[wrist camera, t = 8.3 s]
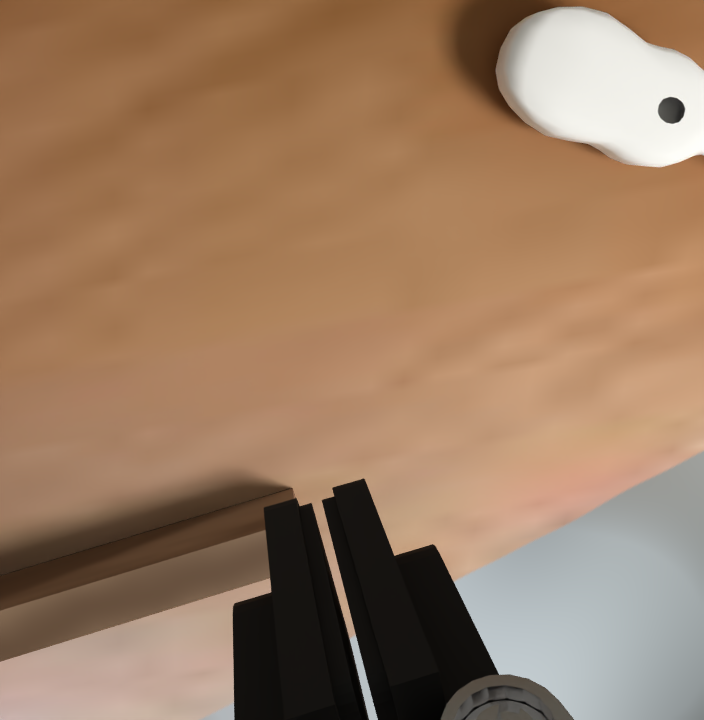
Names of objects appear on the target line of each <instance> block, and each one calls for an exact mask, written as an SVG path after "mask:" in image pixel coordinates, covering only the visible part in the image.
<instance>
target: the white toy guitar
mask: <svg viewBox="0 0 704 720" xmlns="http://www.w3.org/2000/svg"><path fill="white" fill-rule="evenodd" d="M495 71H496V77H497V82H498V88H499V90H500V92H501V94H502V95H503V97H504V99H505V100H506V102H507V103H508V105H509V107H510V108H511V109H512V110H513V111H514V112H515V113H516V114H517V115H518V116H519V117H520V118H521V119H522V120H523V121H524V122H525V123H526V124H528V125H529V126H531V127H533V128H534V129H536V130H537V131H539V132H540V133H542V134H543V135H545V136H549V137H554V138H558V139H563V140H567V141H573V142H579V143H585V144H589V145H591V146H593V147H595V148H596V149H598V150H600V151H601V152H603V153H604V154H605V155H607V156H608V157H609V158H611V159H613V160H616V161H619V162H621V163H624V164H628V165H638V166H650V167H663V166H667V165H670V164H674V163H678V162H681V161H683V160H685V159H688V158H690V157H692V156H695V155H700V154H701V155H704V70H702V69H701V68H700V67H699V66H698V65H697V64H696V63H695V62H694V61H693V60H692V59H691V58H690V57H688V56H686V55H684V54H682V53H680V52H678V51H676V50H674V49H670V48H664V47H659V46H656V45H653V44H650V43H646V42H645V41H644V40H643V39H641V38H640V37H639V36H638V35H636V34H635V33H634V32H633V31H632V30H630V29H629V28H628V27H626V26H625V25H624V24H622V23H621V22H619V21H618V20H616V19H615V18H614V17H612V16H611V15H609V14H608V13H606V12H602V11H598V10H594V9H590V8H586V7H556V8H552V9H549V10H545V11H541V12H538V13H535V14H533V15H530V16H528V17H525V18H524V19H523V20H521V21H520V22H519V23H518V24H516V25H515V26H514V27H513V28H511V29H510V31H509V33H508V35H507V37H506V39H505V41H504V42H503V44H502V46H501V48H500V52H499V56H498V61H497V66H496V70H495Z"/></svg>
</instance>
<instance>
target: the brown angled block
mask: <svg viewBox="0 0 704 720" xmlns="http://www.w3.org/2000/svg"><path fill="white" fill-rule="evenodd" d="M294 498H295V495H294V492H293V488H291V489H288V490H285V491H282V492H278V493H275V494H272V495H268V496H265V497H262V498H258V499H255V500H252V501H248V502H245V503H242V504H238V505H235V506H232V507H228V508H225V509H222V510H218V511H215V512H212V513H208V514H205V515H202V516H198V517H195V518H192V519H188V520H185V521H182V522H178V523H175V524H172V525H168V526H165V527H162V528H158V529H155V530H152V531H148V532H145V533H142V534H138V535H135V536H132V537H128V538H125V539H122V540H118V541H115V542H112V543H108V544H105V545H102V546H98V547H95V548H92V549H88V550H85V551H82V552H78V553H75V554H72V555H68V556H65V557H62V558H59V559H55V560H52V561H49V562H45V563H42V564H39V565H35V566H32V567H29V568H25V569H22V570H19V571H15V572H12V573H9V574H5V575H2V576H0V662H1V661H4V660H7V659H10V658H13V657H17V656H20V655H23V654H26V653H30V652H33V651H36V650H39V649H43V648H46V647H49V646H52V645H55V644H59V643H62V642H65V641H68V640H72V639H75V638H78V637H81V636H84V635H88V634H91V633H94V632H97V631H101V630H104V629H107V628H110V627H114V626H117V625H120V624H123V623H126V622H130V621H133V620H136V619H139V618H143V617H146V616H149V615H152V614H155V613H159V612H162V611H165V610H168V609H172V608H175V607H178V606H181V605H185V604H188V603H191V602H194V601H197V600H201V599H204V598H207V597H210V596H214V595H217V594H220V593H223V592H226V591H230V590H233V589H236V588H239V587H243V586H246V585H249V584H252V583H255V582H259V581H262V580H265V579H268V578H270V570H269V560H268V550H267V540H266V530H265V520H264V507H266V506H270V505H273V504H277V503H280V502H284V501H287V500H291V499H294Z"/></svg>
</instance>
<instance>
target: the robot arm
mask: <svg viewBox="0 0 704 720" xmlns="http://www.w3.org/2000/svg"><path fill="white" fill-rule="evenodd" d="M332 489H333V493H334V497H331V498H327V499H324V500H322V503H323V507H324V511H325V515H326V518H327V522H328V526H329V530H330V534H331V538H332V542H333V546H334V550H335V554H336V558H337V562H338V566H339V570H340V574H341V578H342V582H343V586H344V589H345V593H346V597H347V601H348V605H349V609H350V613H351V617H352V621H353V625H354V629H355V633H356V637H357V641H358V645H359V649H360V653H361V656H362V660H363V664H364V668H365V672H366V676H367V680H368V684H369V687H370V691H371V695H372V699H373V703H374V706H375V710H376V714H377V718H378V720H574V719H573V718H572V716H571V715H570V714H569V713H568V711H567V710H566V709H565V708H564V706H563V705H562V704H561V702H560V701H559V700H558V699H557V698H556V697H555V696H554V695H552V694H551V693H550V692H549V691H548V690H547V689H546V688H545V687H543V686H541V685H539V684H537V683H535V682H533V681H531V680H530V679H527V678H522V677H518V676H513V675H499V674H498V672H497V670H496V668H495V666H494V663H493V662H492V659H491V657H490V655H489V653H488V651H487V649H486V647H485V645H484V643H483V641H482V639H481V637H480V635H479V633H478V631H477V629H476V627H475V625H474V623H473V621H472V619H471V617H470V615H469V613H468V611H467V609H466V607H465V604H464V603H463V600H462V598H461V596H460V594H459V592H458V590H457V588H456V586H455V584H454V582H453V580H452V578H451V576H450V574H449V572H448V570H447V568H446V566H445V564H444V562H443V560H442V558H441V556H440V554H439V552H438V550H437V548H436V547H435V546H434V545H433V544H432V545H429V546H426V547H422V548H419V549H416V550H412V551H409V552H406V553H402V554H399V555H396V556H394V554H393V551H392V549H391V546H390V544H389V541H388V538H387V536H386V533H385V531H384V528H383V525H382V523H381V520H380V518H379V515H378V512H377V510H376V507H375V505H374V502H373V499H372V497H371V494H370V492H369V489H368V487H367V484H366V481H365V479H361V480H358V481H354V482H351V483H347V484H344V485H340V486H337V487H333V488H332ZM264 520H265V530H266V540H267V550H268V560H269V570H270V580H271V591H272V592H271V593H268V594H265V595H261V596H258V597H255V598H251V599H248V600H244V601H241V602H238V603H235V604H234V606H233V657H234V713H235V716H234V717H235V720H369V718H368V714H367V710H366V706H365V701H364V697H363V694H362V689H361V685H360V680H359V676H358V672H357V668H356V664H355V660H354V655H353V651H352V647H351V643H350V639H349V635H348V632H347V628H346V624H345V621H344V617H343V614H342V610H341V606H340V603H339V599H338V596H337V592H336V589H335V585H334V581H333V578H332V574H331V571H330V567H329V563H328V560H327V556H326V553H325V549H324V546H323V542H322V538H321V535H320V531H319V528H318V524H317V520H316V517H315V513H314V510H313V506H312V503H310V504H306V505H303V506H299V504H298V501H297V498H294V499H291V500H287V501H284V502H280V503H277V504H273V505H270V506H266V507H264Z"/></svg>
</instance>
